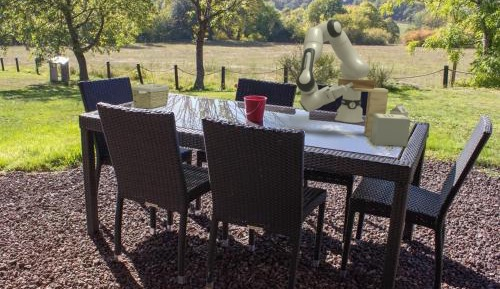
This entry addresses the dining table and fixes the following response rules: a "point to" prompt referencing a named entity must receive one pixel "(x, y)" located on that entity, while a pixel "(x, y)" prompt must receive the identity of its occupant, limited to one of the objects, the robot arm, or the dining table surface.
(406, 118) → the letter
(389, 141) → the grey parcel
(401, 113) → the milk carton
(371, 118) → the pine shelf
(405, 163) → the dining table surface
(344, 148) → the dining table surface
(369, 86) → the walnut bar
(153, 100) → the storage basket
